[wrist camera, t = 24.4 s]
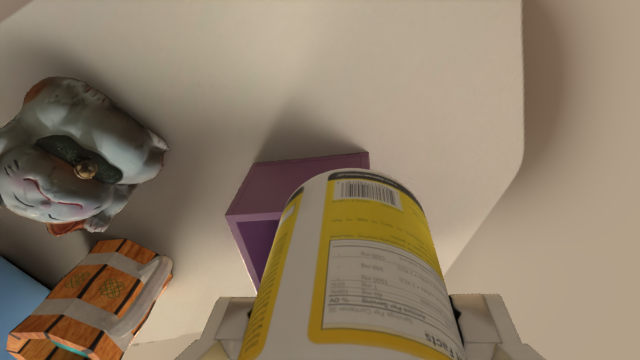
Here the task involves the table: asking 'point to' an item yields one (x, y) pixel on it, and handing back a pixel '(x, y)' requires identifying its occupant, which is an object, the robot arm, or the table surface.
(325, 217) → the pill bottle
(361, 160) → the box
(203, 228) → the table surface
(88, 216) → the lucky cat figurine
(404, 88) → the table surface
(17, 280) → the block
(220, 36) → the table surface
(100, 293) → the wooden beer tankard
